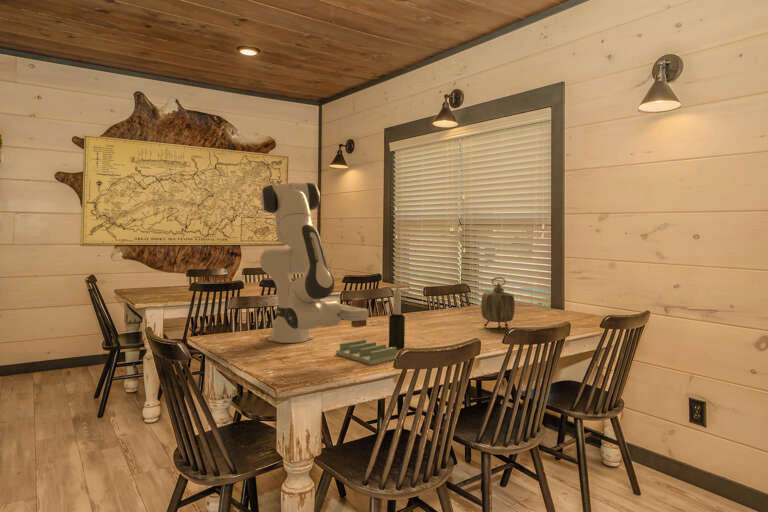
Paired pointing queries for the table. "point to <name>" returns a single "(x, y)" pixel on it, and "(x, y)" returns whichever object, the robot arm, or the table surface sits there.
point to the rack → (367, 351)
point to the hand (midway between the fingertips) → (361, 309)
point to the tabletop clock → (497, 305)
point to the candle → (396, 323)
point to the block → (361, 304)
